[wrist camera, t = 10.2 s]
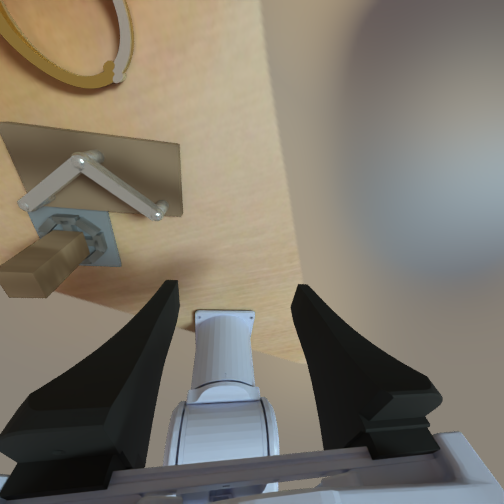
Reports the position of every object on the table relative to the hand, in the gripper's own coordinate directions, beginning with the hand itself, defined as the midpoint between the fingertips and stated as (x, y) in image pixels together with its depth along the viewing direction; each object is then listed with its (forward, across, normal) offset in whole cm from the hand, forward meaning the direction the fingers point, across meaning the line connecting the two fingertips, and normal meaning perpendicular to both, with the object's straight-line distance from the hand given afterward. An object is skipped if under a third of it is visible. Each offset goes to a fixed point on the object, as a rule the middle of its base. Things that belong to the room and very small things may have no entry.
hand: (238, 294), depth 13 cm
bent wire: (+10, +11, -4) cm, 16 cm away
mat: (+10, +15, +3) cm, 18 cm away
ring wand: (+10, +15, +3) cm, 18 cm away
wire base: (+10, +11, -4) cm, 16 cm away
